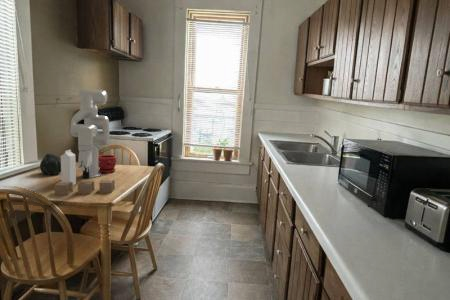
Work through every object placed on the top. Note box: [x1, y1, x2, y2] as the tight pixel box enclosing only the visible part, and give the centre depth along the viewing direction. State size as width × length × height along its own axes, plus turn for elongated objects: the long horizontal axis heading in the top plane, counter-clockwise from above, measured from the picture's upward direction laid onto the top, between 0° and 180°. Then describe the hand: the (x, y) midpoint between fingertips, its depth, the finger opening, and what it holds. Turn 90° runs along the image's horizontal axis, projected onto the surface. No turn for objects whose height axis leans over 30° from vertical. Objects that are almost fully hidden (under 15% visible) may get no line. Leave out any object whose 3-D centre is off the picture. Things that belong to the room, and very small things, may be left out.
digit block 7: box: [98, 179, 116, 193], centre depth 183 cm, size 7×7×6 cm
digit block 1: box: [54, 181, 74, 196], centre depth 173 cm, size 7×7×6 cm
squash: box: [39, 153, 61, 176], centre depth 212 cm, size 14×15×15 cm
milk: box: [60, 149, 77, 186], centre depth 188 cm, size 6×6×22 cm
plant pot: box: [99, 154, 117, 174], centre depth 227 cm, size 13×13×12 cm
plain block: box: [77, 179, 95, 195], centre depth 178 cm, size 7×7×6 cm
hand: (86, 178), depth 178 cm, fingers closed
